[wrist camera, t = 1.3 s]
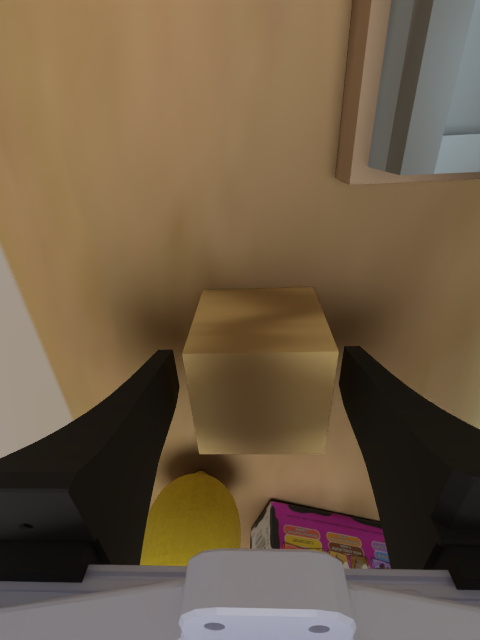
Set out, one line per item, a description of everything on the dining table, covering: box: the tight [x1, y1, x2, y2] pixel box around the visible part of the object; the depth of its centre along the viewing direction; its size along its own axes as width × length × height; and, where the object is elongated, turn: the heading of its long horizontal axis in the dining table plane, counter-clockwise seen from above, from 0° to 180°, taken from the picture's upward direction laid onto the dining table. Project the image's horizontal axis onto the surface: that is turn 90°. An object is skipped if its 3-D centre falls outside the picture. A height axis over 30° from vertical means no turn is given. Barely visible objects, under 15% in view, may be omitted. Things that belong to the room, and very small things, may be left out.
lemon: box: [140, 471, 241, 566], centre depth 18 cm, size 6×6×8 cm
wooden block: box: [182, 287, 339, 454], centre depth 13 cm, size 5×5×5 cm
